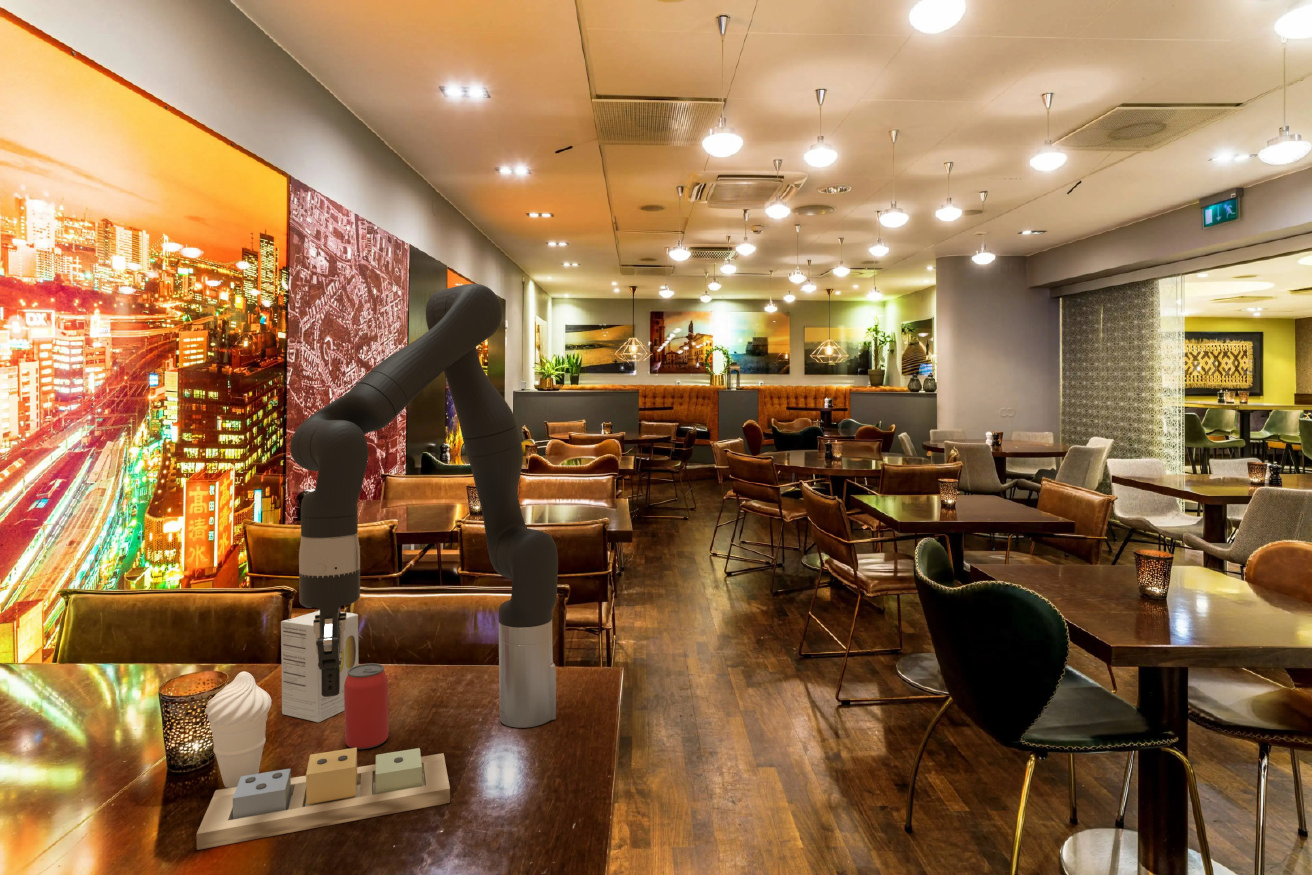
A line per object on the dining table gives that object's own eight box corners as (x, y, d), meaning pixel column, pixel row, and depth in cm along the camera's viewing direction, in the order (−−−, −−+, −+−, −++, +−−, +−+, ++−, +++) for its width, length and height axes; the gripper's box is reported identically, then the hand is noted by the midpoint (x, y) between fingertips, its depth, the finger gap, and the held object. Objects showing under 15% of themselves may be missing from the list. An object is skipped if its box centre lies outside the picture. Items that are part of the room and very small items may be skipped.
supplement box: (318, 723, 125) (316, 627, 125) (280, 715, 129) (278, 621, 128) (361, 703, 134) (359, 612, 133) (324, 695, 138) (322, 607, 137)
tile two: (357, 775, 103) (356, 746, 103) (355, 795, 98) (355, 765, 98) (310, 782, 101) (310, 753, 101) (306, 804, 96) (305, 773, 96)
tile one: (420, 774, 106) (419, 746, 106) (422, 794, 101) (421, 765, 101) (376, 782, 104) (375, 753, 104) (376, 803, 99) (375, 772, 99)
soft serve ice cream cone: (226, 802, 100) (223, 687, 99) (195, 785, 104) (192, 676, 104) (284, 776, 107) (282, 669, 107) (253, 762, 112) (251, 659, 111)
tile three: (291, 796, 100) (290, 766, 100) (285, 819, 95) (285, 787, 95) (241, 805, 98) (241, 774, 98) (233, 828, 93) (232, 796, 93)
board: (443, 766, 110) (443, 753, 110) (450, 802, 100) (449, 788, 100) (216, 804, 99) (215, 790, 99) (196, 849, 89) (196, 833, 89)
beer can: (373, 752, 114) (372, 677, 114) (336, 749, 116) (334, 674, 115) (396, 734, 121) (395, 663, 120) (361, 731, 122) (359, 660, 122)
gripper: (358, 575, 93) (359, 708, 94) (360, 556, 106) (361, 674, 106) (294, 579, 91) (295, 717, 91) (303, 560, 103) (304, 681, 104)
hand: (330, 694), depth 99 cm, fingers closed
